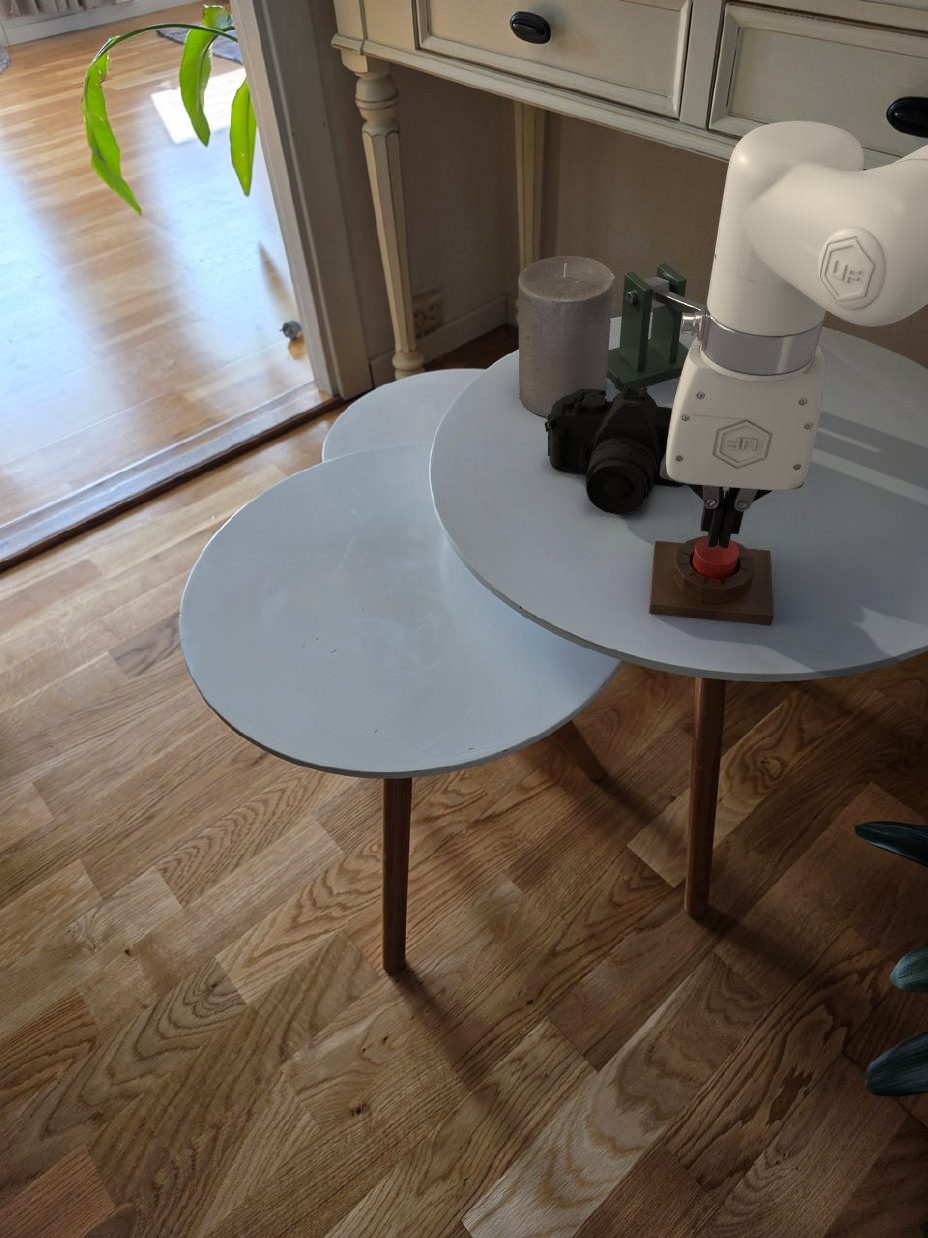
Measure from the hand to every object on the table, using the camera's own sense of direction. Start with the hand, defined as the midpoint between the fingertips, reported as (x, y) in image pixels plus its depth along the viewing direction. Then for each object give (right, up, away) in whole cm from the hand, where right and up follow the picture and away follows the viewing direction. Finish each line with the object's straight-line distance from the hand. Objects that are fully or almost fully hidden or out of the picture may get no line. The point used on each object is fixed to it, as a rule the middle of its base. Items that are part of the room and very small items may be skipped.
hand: (717, 536), depth 72 cm
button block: (+1, -4, +4) cm, 6 cm away
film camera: (-6, +6, +14) cm, 17 cm away
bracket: (0, +22, +28) cm, 36 cm away
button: (0, -2, +2) cm, 3 cm away
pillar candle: (-10, +18, +26) cm, 33 cm away
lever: (+2, +24, +17) cm, 29 cm away
